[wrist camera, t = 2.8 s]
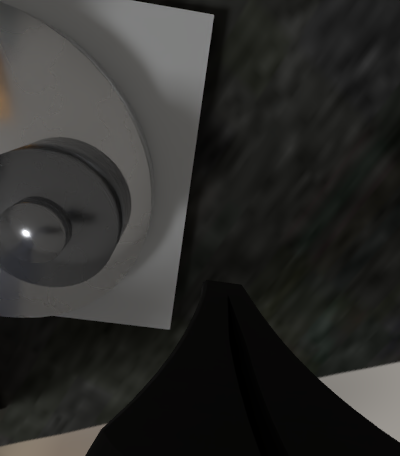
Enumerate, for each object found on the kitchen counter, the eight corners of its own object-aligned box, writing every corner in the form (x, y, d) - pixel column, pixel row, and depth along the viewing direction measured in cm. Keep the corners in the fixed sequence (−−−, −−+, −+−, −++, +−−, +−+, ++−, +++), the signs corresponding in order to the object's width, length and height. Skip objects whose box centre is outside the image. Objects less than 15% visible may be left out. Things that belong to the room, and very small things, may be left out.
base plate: (170, 322, 24) (169, 329, 24) (-129, 286, 23) (-140, 292, 23) (213, 17, 16) (214, 14, 15) (-248, -63, 15) (-271, -71, 14)
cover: (128, 260, 19) (108, 307, 15) (13, 245, 19) (-39, 289, 15) (135, 147, 17) (113, 169, 12) (1, 127, 16) (-68, 143, 12)
